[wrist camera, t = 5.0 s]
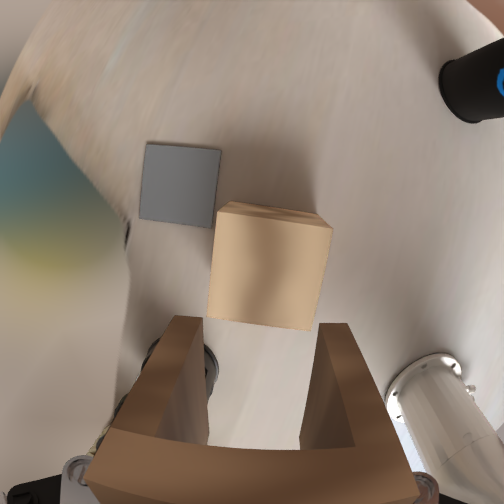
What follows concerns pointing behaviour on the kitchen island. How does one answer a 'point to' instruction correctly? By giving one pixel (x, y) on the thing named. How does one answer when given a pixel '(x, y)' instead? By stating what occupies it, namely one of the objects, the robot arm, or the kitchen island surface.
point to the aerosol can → (475, 84)
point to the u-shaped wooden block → (251, 460)
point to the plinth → (267, 265)
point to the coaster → (179, 185)
